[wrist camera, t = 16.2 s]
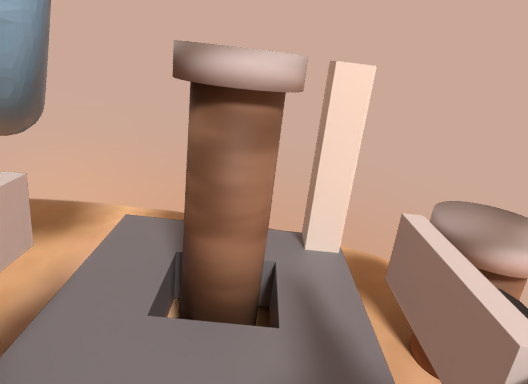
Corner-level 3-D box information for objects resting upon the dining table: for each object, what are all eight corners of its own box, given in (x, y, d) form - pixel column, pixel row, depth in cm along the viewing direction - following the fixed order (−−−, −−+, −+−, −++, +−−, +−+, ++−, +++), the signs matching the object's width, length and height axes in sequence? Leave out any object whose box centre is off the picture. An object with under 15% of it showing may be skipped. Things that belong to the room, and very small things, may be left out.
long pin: (141, 338, 22) (144, 36, 16) (213, 293, 26) (233, 48, 21) (221, 397, 19) (256, 48, 13) (286, 334, 23) (330, 59, 18)
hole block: (-16, 458, 15) (-98, 2, 9) (126, 255, 30) (124, 35, 25) (391, 491, 15) (527, 78, 10) (328, 275, 30) (369, 65, 25)
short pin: (383, 360, 22) (422, 219, 19) (410, 313, 27) (445, 193, 24) (499, 421, 19) (567, 264, 16) (507, 355, 24) (560, 224, 21)
